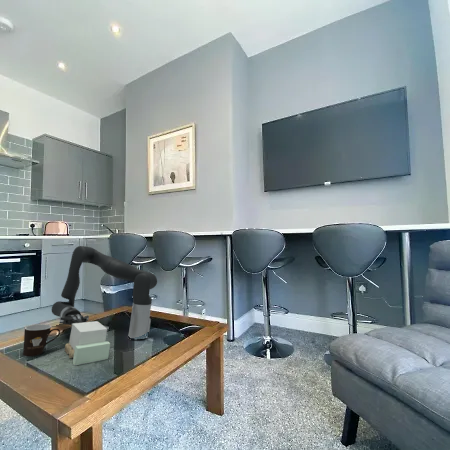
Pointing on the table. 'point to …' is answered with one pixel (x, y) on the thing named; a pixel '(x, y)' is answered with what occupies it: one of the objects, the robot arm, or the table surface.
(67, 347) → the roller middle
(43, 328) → the coffee mug
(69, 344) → the roller rear
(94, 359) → the block
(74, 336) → the white stacked block
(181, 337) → the table surface
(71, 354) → the roller front
